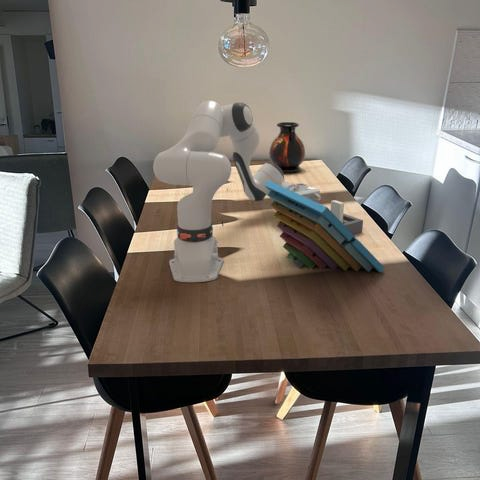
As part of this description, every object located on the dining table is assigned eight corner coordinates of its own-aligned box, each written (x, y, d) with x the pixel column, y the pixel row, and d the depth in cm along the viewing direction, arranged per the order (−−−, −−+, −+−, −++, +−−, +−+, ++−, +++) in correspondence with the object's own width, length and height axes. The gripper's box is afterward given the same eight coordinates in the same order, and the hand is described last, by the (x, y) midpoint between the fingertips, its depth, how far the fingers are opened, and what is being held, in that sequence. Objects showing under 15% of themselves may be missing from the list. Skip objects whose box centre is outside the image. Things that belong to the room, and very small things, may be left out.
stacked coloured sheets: (295, 269, 191) (237, 219, 172) (323, 234, 192) (268, 180, 173) (352, 309, 162) (289, 253, 143) (384, 267, 162) (326, 207, 143)
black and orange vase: (263, 168, 304) (264, 122, 294) (296, 165, 310) (297, 120, 300) (276, 176, 285) (277, 127, 275) (310, 173, 291) (312, 125, 281)
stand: (362, 231, 198) (363, 220, 196) (328, 242, 188) (329, 230, 186) (342, 224, 206) (342, 213, 205) (308, 234, 196) (309, 222, 195)
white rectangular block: (342, 231, 195) (344, 203, 191) (338, 233, 194) (340, 203, 190) (332, 228, 199) (334, 200, 195) (329, 229, 198) (331, 200, 194)
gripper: (270, 189, 206) (292, 197, 195) (307, 182, 217) (329, 189, 206) (270, 204, 208) (291, 212, 197) (306, 196, 219) (328, 203, 208)
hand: (311, 200), depth 202 cm, fingers open, 8 cm apart
